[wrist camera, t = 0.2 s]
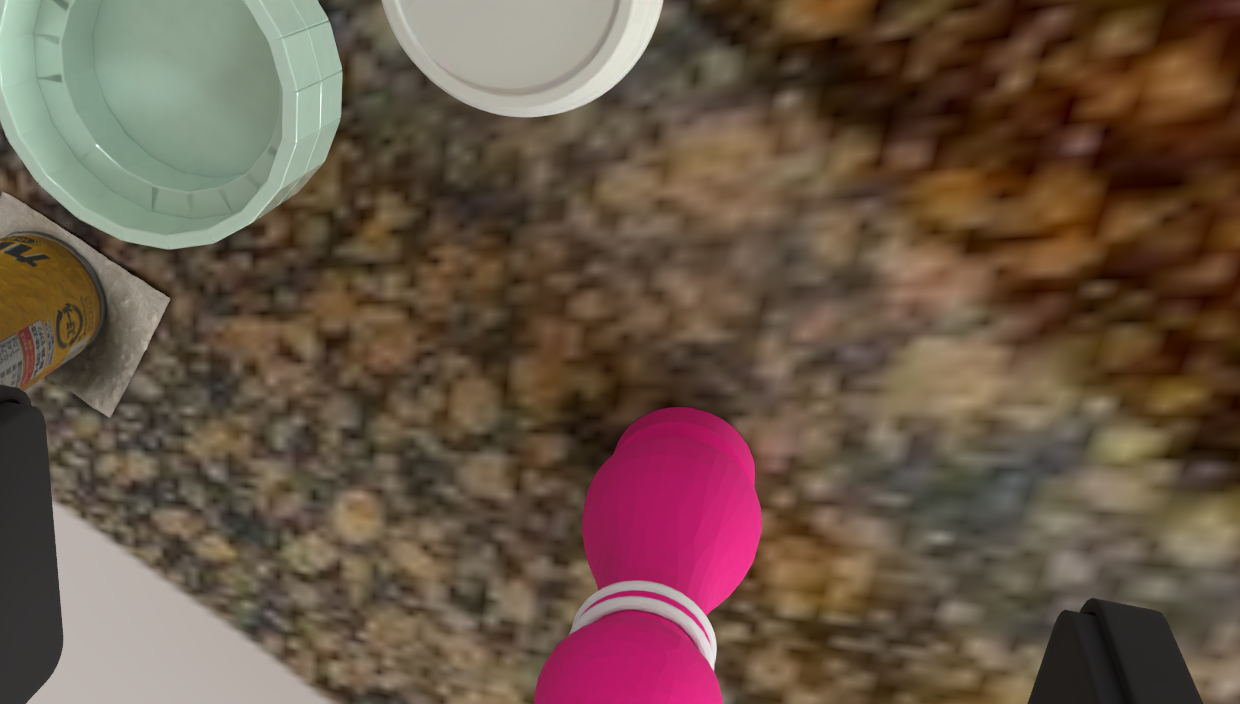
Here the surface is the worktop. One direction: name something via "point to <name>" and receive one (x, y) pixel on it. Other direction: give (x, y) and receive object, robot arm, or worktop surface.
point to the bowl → (169, 109)
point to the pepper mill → (659, 564)
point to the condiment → (68, 311)
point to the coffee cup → (524, 48)
